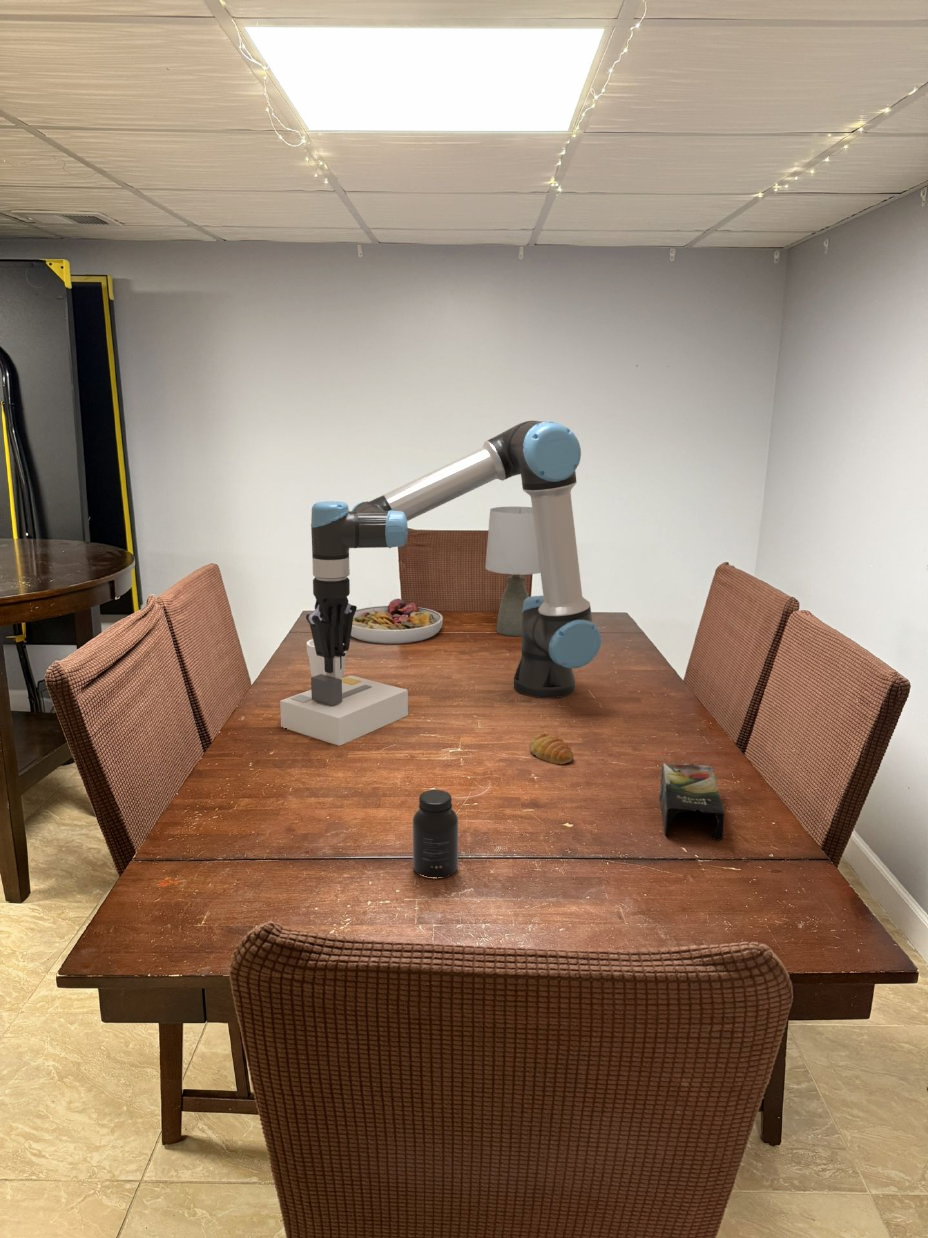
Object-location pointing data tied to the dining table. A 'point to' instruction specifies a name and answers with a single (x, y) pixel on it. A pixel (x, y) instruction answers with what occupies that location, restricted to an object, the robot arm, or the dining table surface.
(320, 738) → the switch panel
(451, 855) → the supplement bottle
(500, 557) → the lamp
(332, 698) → the knob
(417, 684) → the dining table surface
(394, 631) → the bowl
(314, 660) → the foam cup
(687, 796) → the juice carton
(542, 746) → the pastry
